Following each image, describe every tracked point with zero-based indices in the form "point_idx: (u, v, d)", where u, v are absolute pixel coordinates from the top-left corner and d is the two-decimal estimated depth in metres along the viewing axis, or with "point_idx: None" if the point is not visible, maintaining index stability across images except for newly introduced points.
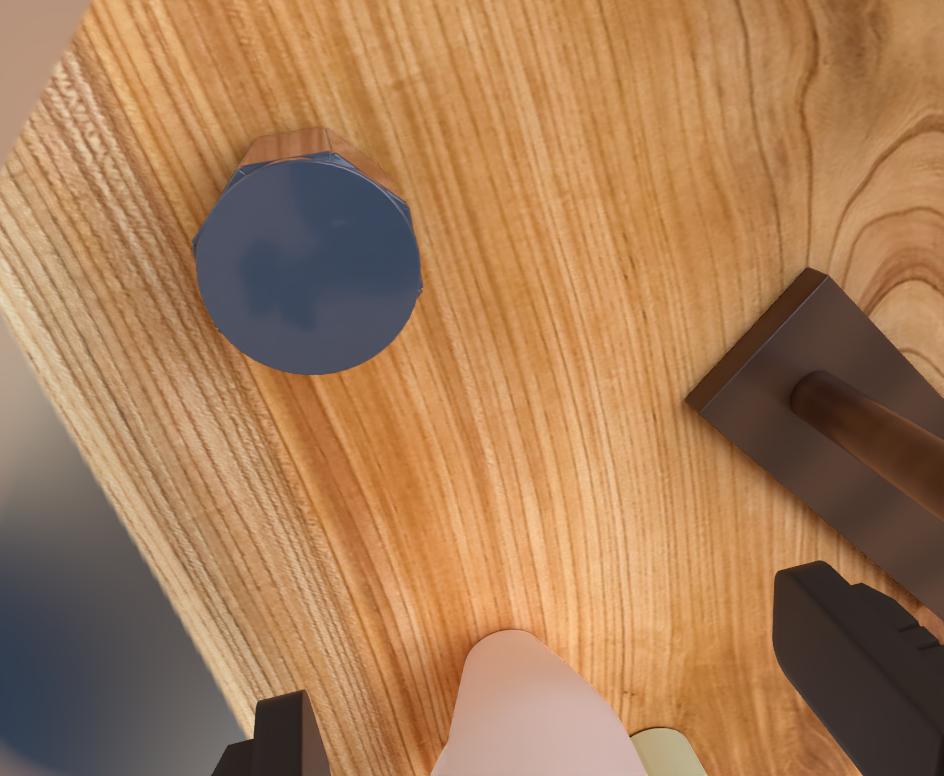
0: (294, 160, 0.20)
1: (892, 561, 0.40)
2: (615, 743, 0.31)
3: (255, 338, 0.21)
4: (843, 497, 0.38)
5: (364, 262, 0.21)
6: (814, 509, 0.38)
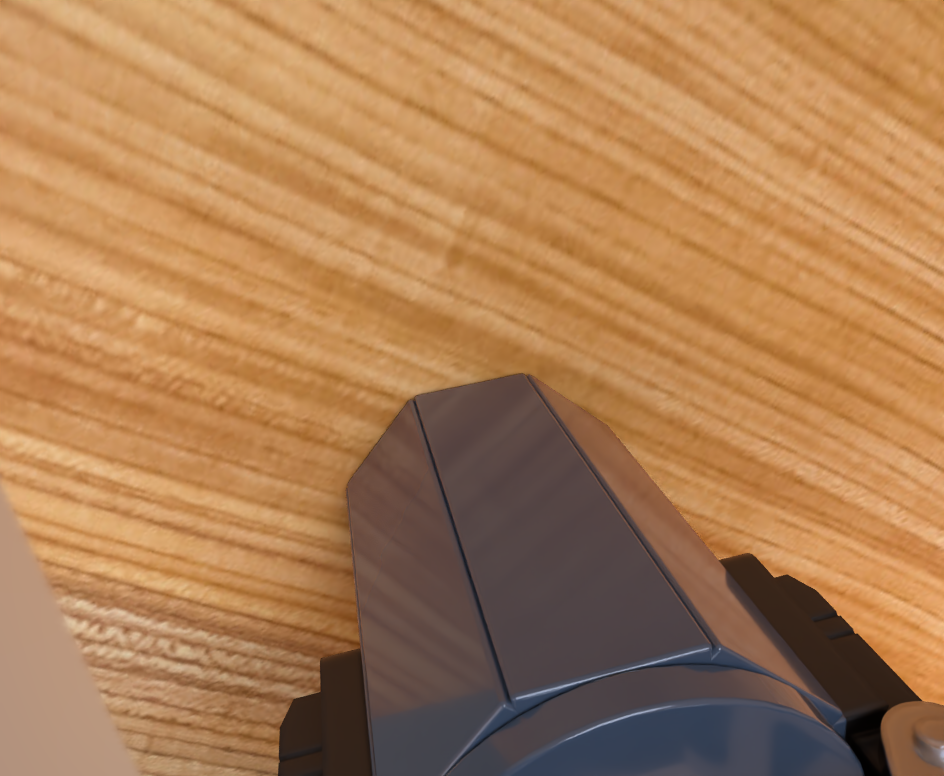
0: None
1: None
2: None
3: None
4: None
5: None
6: None
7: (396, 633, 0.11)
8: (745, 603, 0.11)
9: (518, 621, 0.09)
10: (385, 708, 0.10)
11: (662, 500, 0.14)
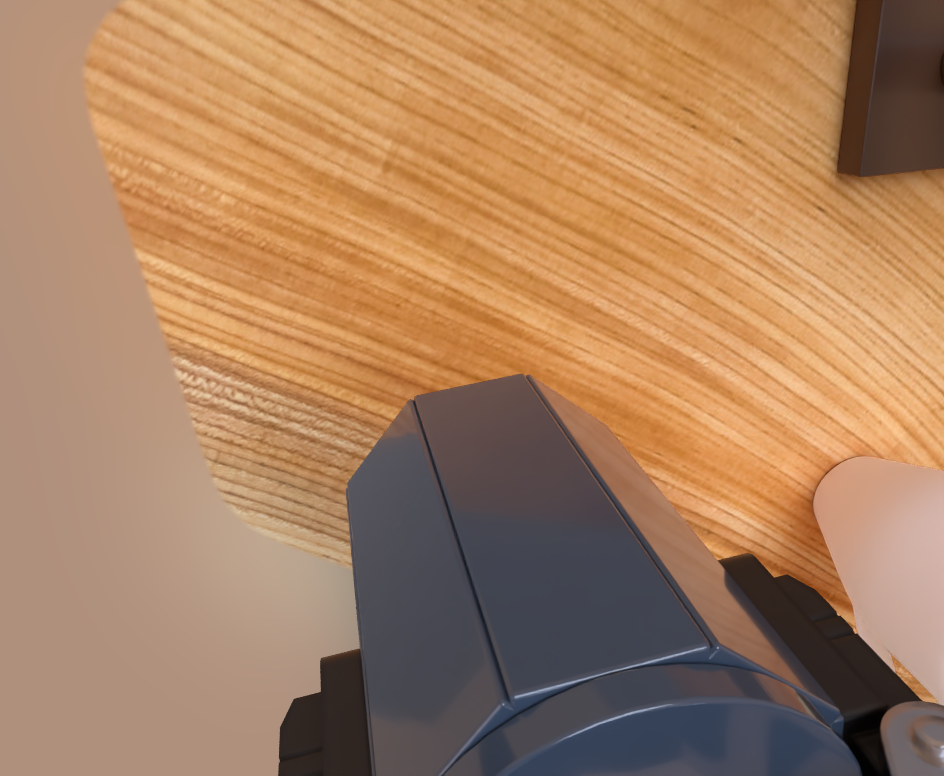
0: None
1: None
2: None
3: None
4: None
5: None
6: None
7: (396, 632, 0.11)
8: (744, 602, 0.11)
9: (517, 620, 0.09)
10: (385, 707, 0.10)
11: (661, 500, 0.14)
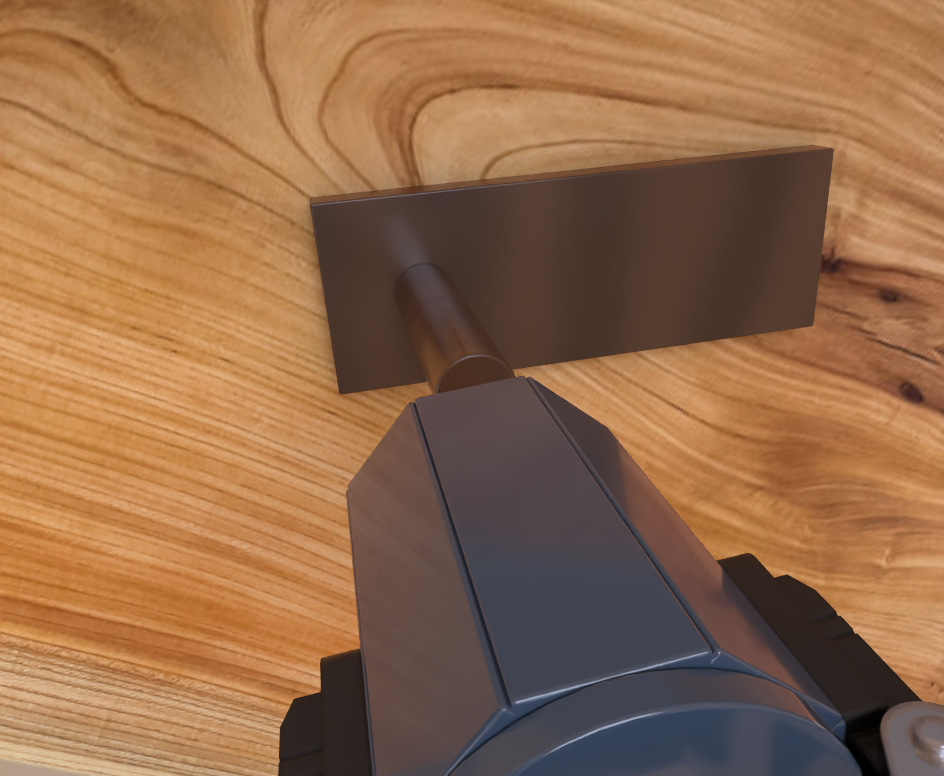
0: None
1: (683, 331, 0.34)
2: None
3: None
4: (561, 332, 0.33)
5: None
6: (545, 363, 0.34)
7: (396, 636, 0.11)
8: (745, 606, 0.11)
9: (518, 625, 0.09)
10: (385, 711, 0.10)
11: (662, 503, 0.14)
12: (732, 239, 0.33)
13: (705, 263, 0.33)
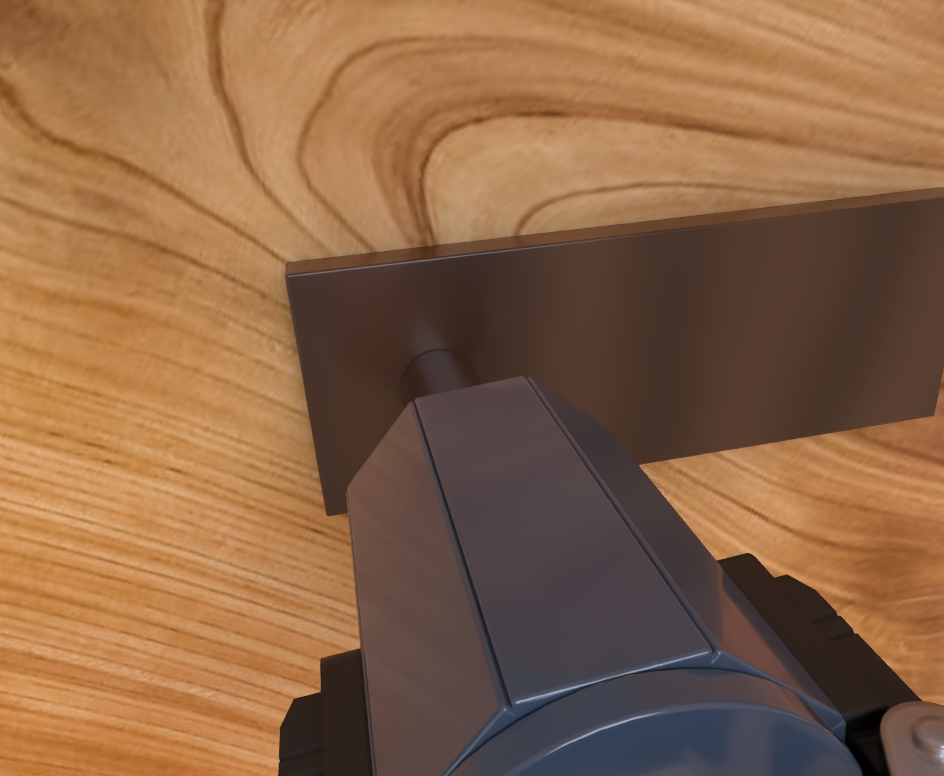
0: None
1: (772, 426, 0.27)
2: None
3: None
4: (617, 431, 0.25)
5: None
6: None
7: (397, 636, 0.11)
8: (745, 606, 0.11)
9: (519, 625, 0.09)
10: (386, 711, 0.10)
11: (662, 503, 0.14)
12: (840, 311, 0.25)
13: (804, 342, 0.26)
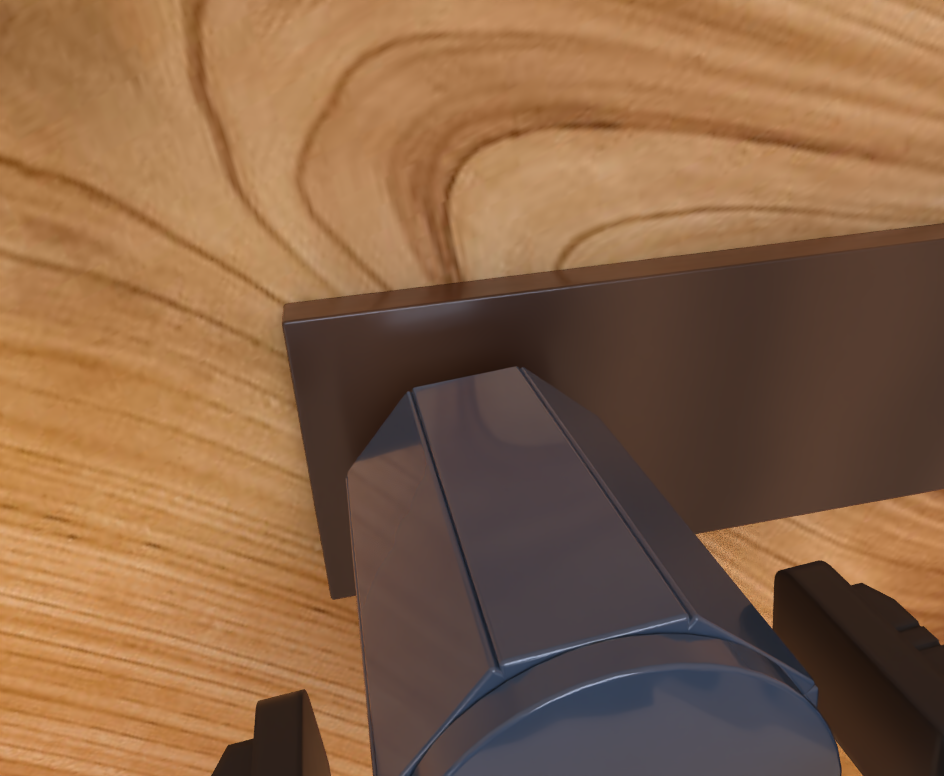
0: (454, 764, 0.09)
1: (850, 488, 0.23)
2: None
3: None
4: (672, 497, 0.22)
5: (701, 773, 0.09)
6: None
7: (393, 610, 0.12)
8: (726, 582, 0.12)
9: (508, 595, 0.10)
10: (382, 680, 0.11)
11: (649, 487, 0.14)
12: (936, 356, 0.22)
13: (892, 392, 0.22)
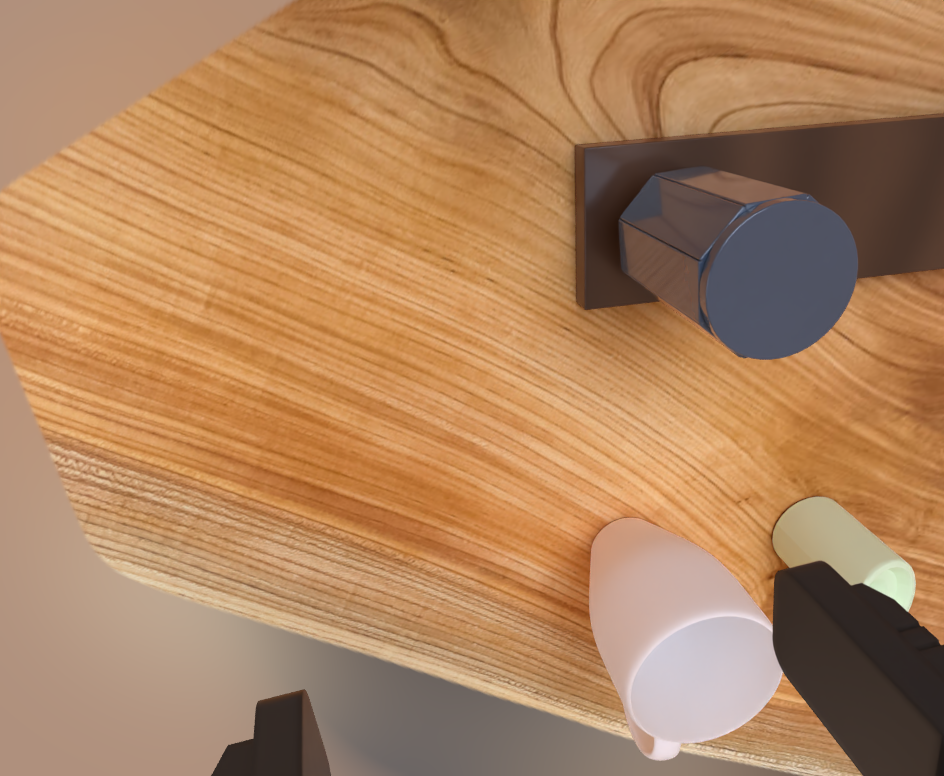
0: (733, 231, 0.27)
1: (863, 266, 0.41)
2: (680, 580, 0.38)
3: (773, 346, 0.29)
4: None
5: (810, 250, 0.28)
6: None
7: (682, 226, 0.30)
8: None
9: (740, 197, 0.28)
10: (685, 240, 0.29)
11: None
12: (911, 187, 0.40)
13: (887, 208, 0.40)
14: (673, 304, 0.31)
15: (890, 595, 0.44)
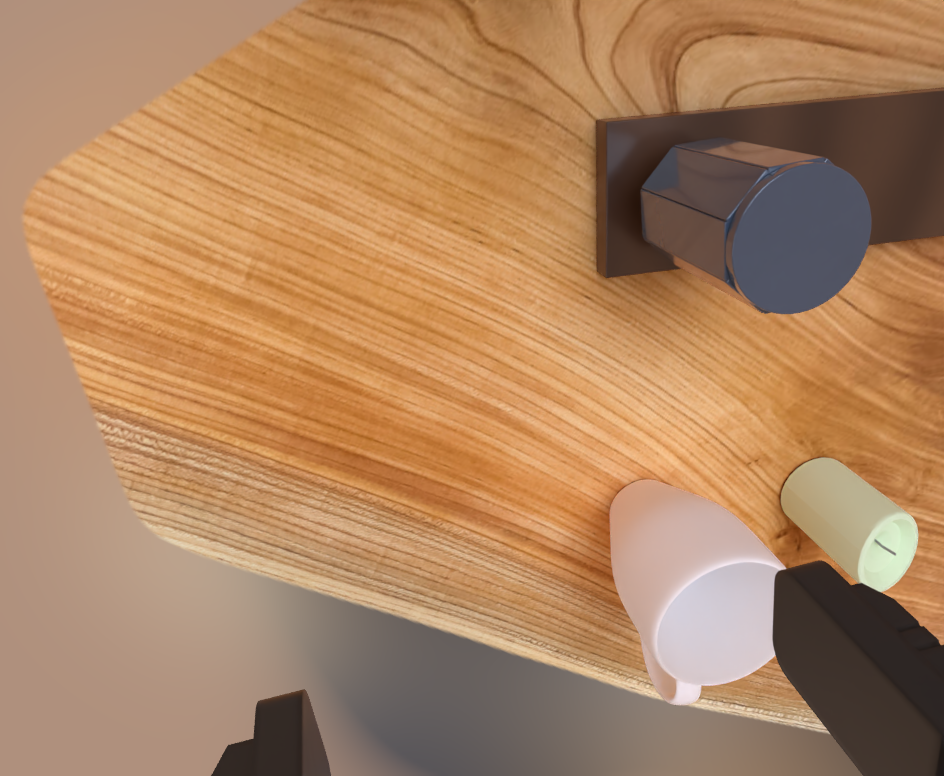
0: (757, 192, 0.29)
1: None
2: (701, 531, 0.40)
3: (793, 301, 0.31)
4: None
5: (827, 210, 0.30)
6: None
7: (706, 191, 0.32)
8: None
9: (761, 162, 0.30)
10: (710, 204, 0.31)
11: None
12: (911, 158, 0.42)
13: (889, 178, 0.42)
14: (698, 265, 0.33)
15: (894, 547, 0.46)
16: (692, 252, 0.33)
